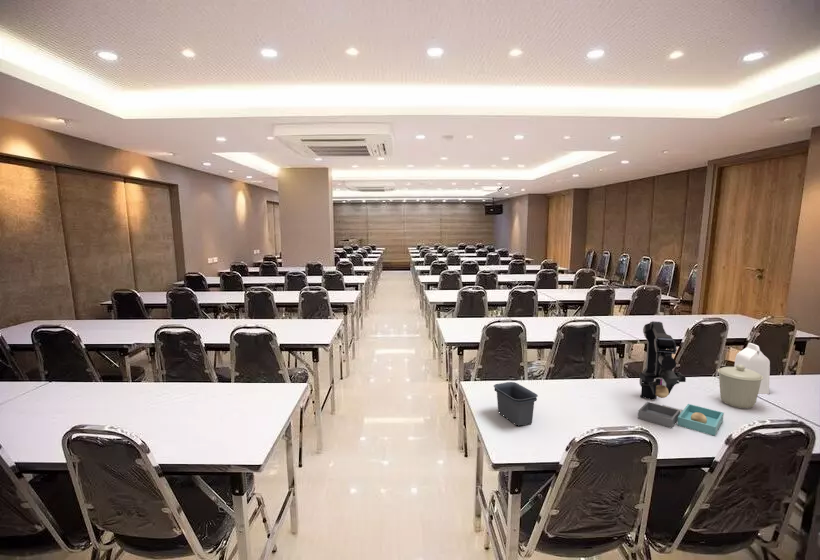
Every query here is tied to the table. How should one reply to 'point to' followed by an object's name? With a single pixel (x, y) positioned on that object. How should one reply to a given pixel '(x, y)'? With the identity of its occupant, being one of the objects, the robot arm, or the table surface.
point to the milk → (755, 364)
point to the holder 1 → (659, 414)
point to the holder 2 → (709, 428)
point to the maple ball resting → (699, 417)
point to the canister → (739, 386)
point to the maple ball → (661, 391)
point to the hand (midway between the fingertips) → (661, 394)
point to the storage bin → (515, 402)
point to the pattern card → (674, 408)
